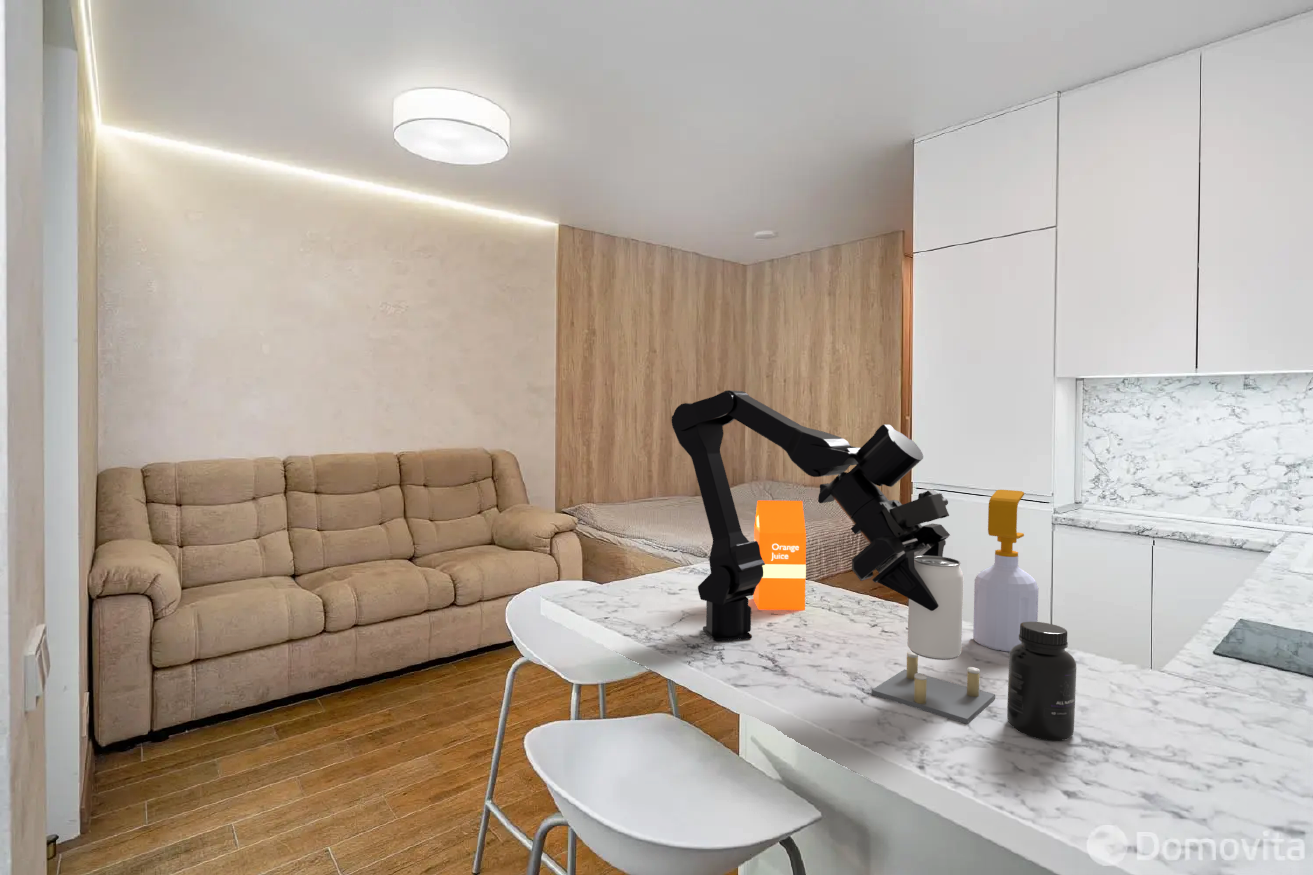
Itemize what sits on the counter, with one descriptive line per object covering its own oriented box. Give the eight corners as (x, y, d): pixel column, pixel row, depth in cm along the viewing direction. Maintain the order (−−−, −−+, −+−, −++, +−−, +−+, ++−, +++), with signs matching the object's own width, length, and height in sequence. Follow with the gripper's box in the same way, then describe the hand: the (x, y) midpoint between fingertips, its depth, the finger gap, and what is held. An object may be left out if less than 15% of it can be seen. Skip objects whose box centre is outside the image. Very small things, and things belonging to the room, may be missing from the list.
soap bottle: (1043, 643, 109) (1047, 491, 108) (1027, 657, 102) (1031, 495, 101) (983, 630, 115) (987, 486, 114) (965, 643, 108) (968, 490, 107)
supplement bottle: (1074, 748, 74) (1077, 640, 74) (1004, 732, 78) (1007, 629, 77) (1074, 724, 80) (1077, 624, 80) (1009, 710, 84) (1012, 614, 83)
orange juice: (805, 610, 126) (807, 503, 125) (758, 609, 126) (759, 503, 126) (797, 598, 134) (798, 498, 133) (752, 598, 134) (754, 497, 133)
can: (964, 663, 84) (967, 567, 83) (909, 657, 86) (911, 563, 85) (957, 646, 90) (960, 557, 90) (905, 640, 92) (908, 553, 91)
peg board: (871, 694, 88) (872, 664, 88) (904, 673, 95) (904, 646, 95) (967, 723, 80) (968, 691, 80) (995, 698, 87) (995, 668, 87)
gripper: (877, 474, 83) (967, 580, 76) (937, 467, 96) (1018, 556, 89) (818, 529, 89) (897, 632, 82) (883, 515, 102) (955, 602, 95)
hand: (946, 603), depth 87 cm, fingers closed on can, 6 cm apart
